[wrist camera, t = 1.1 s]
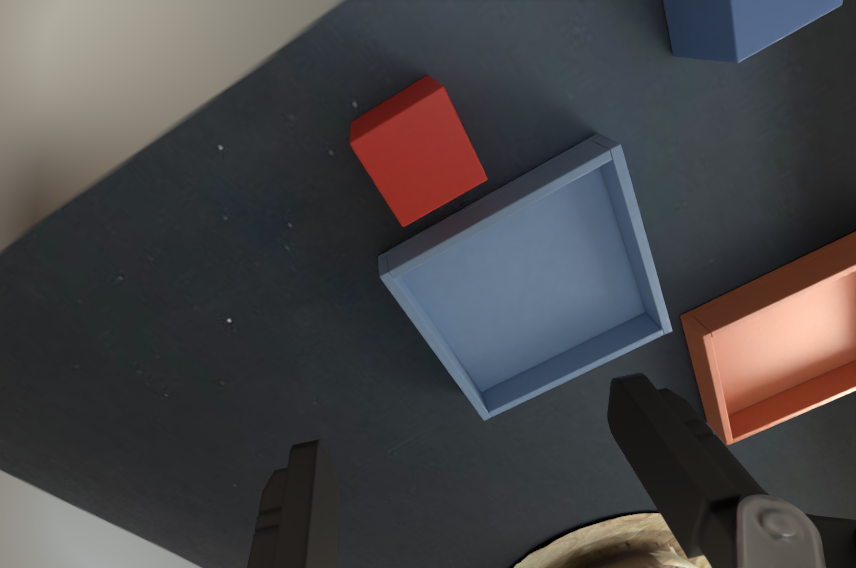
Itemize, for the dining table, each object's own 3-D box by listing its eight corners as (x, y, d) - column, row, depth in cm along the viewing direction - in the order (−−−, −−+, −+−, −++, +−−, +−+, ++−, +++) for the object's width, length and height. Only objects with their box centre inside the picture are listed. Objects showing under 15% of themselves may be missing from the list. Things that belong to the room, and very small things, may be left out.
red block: (428, 74, 21) (443, 85, 17) (467, 154, 23) (488, 180, 20) (350, 122, 22) (348, 143, 18) (395, 195, 24) (403, 228, 20)
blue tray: (597, 132, 24) (621, 143, 22) (651, 310, 31) (672, 331, 29) (377, 256, 26) (379, 277, 24) (475, 395, 33) (484, 421, 31)
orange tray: (876, 220, 30) (916, 235, 28) (867, 352, 37) (898, 372, 35) (679, 315, 32) (702, 336, 30) (707, 422, 39) (727, 445, 37)
